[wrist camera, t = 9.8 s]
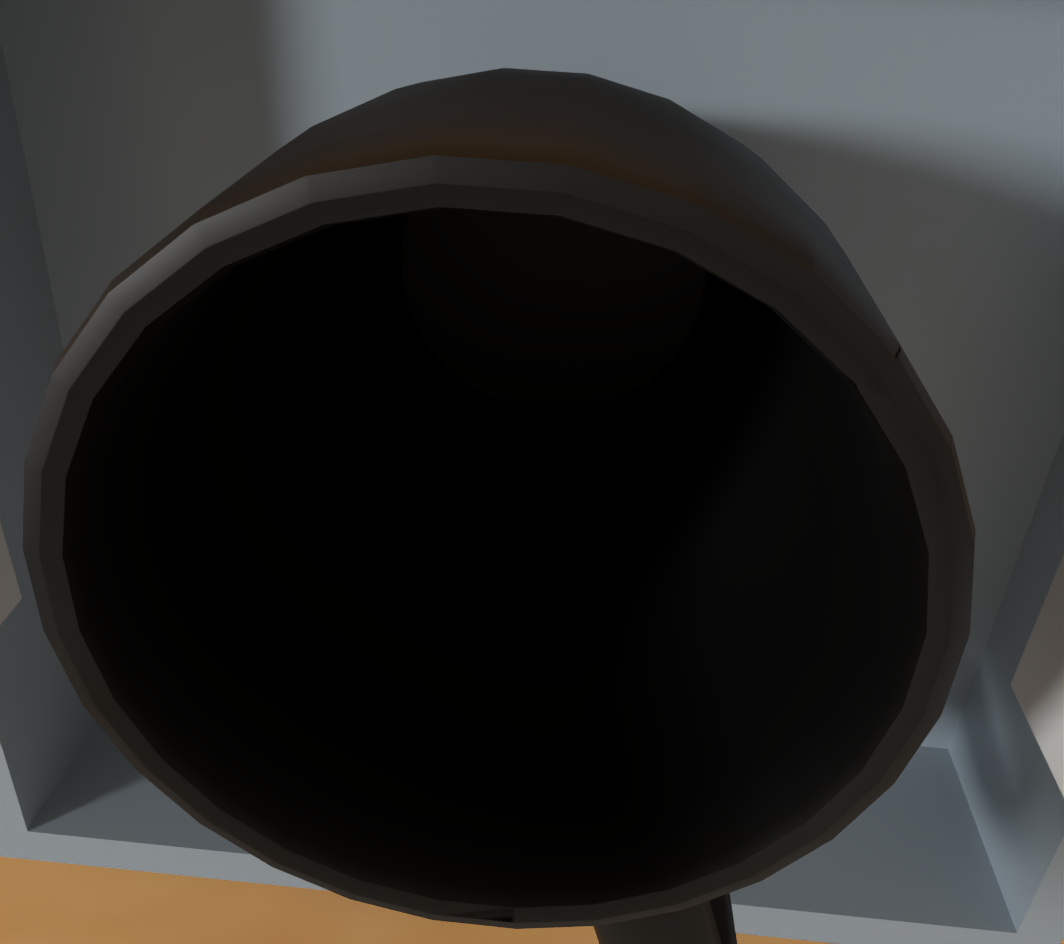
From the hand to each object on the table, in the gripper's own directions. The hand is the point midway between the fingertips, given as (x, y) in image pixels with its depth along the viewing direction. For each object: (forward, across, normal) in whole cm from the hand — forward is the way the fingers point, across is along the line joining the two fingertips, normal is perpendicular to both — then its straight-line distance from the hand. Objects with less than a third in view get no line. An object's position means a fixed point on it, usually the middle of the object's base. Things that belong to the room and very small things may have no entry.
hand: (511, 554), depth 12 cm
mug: (+6, +1, 0) cm, 6 cm away
